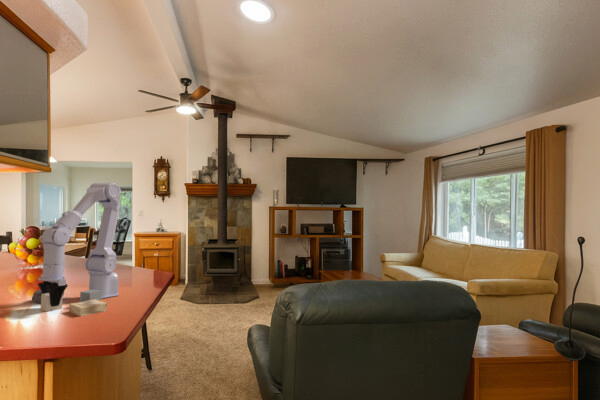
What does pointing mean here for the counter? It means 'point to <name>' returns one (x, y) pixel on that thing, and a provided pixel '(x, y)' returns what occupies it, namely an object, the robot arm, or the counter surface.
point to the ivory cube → (46, 303)
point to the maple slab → (87, 307)
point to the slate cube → (90, 295)
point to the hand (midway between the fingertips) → (51, 304)
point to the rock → (38, 296)
